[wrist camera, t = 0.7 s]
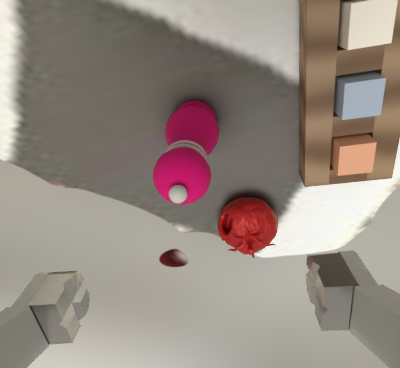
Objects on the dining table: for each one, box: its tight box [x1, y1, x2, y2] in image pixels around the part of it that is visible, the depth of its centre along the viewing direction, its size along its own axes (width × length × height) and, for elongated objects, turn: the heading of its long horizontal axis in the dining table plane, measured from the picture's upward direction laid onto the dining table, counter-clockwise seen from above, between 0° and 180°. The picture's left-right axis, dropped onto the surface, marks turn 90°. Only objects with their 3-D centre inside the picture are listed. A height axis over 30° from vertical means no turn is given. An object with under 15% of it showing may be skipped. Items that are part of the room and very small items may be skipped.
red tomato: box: [218, 197, 278, 258], centre depth 50 cm, size 10×10×9 cm
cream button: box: [338, 0, 398, 50], centre depth 33 cm, size 4×4×4 cm
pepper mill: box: [153, 101, 219, 205], centre depth 37 cm, size 7×7×20 cm
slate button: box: [333, 71, 386, 120], centre depth 37 cm, size 4×4×4 cm
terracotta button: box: [330, 133, 377, 176], centre depth 41 cm, size 4×4×4 cm
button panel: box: [299, 0, 400, 187], centre depth 39 cm, size 26×12×4 cm, turn 10°
